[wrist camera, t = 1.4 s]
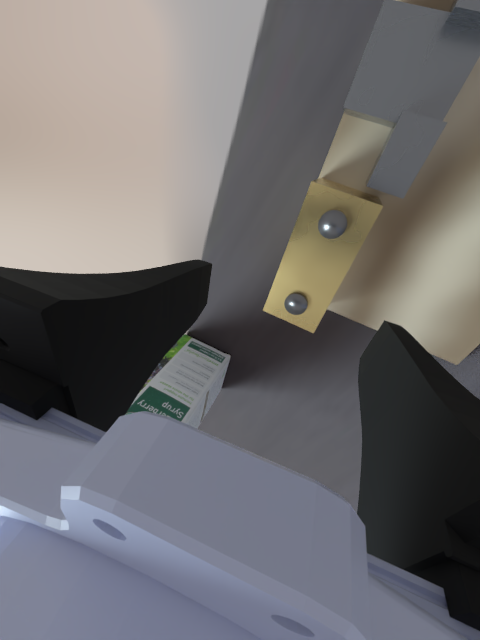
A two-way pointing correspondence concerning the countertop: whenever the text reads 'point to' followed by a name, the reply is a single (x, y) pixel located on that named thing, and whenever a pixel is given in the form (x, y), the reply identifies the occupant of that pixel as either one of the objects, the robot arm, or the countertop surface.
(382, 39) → the chain ends
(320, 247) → the link
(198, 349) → the syrup box
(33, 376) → the robot arm
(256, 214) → the countertop surface
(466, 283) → the board
